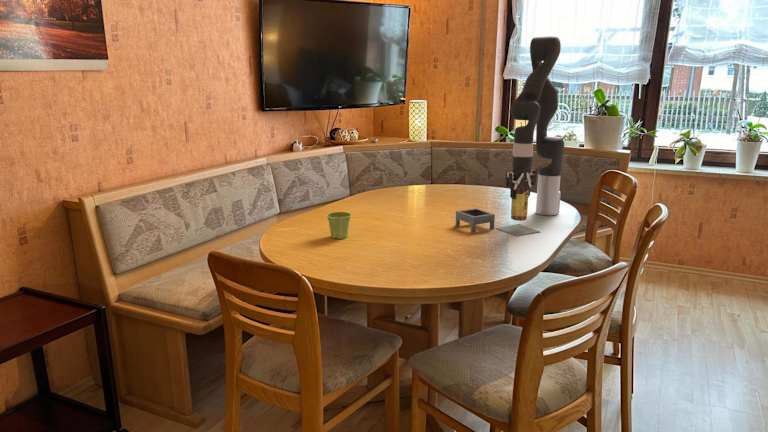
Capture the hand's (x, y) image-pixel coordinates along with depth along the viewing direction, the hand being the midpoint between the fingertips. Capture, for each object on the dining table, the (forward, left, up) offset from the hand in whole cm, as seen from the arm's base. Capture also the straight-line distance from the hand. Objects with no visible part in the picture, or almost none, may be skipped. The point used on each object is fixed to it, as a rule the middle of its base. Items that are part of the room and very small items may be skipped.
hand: (519, 197), depth 223 cm
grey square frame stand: (+12, -12, -13) cm, 22 cm away
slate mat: (0, 0, -13) cm, 13 cm away
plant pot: (+65, -26, -13) cm, 71 cm away
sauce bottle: (0, 0, -9) cm, 9 cm away
